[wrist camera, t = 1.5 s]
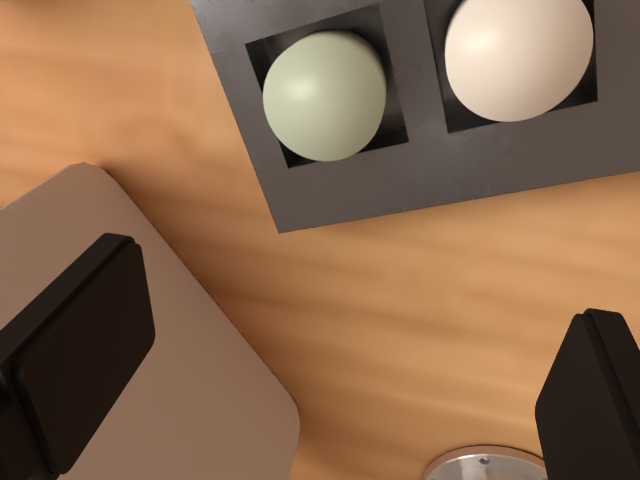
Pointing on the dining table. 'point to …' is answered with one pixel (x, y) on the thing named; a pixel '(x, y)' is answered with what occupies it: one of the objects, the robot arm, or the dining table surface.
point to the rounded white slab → (153, 347)
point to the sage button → (326, 95)
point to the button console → (422, 111)
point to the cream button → (516, 55)
